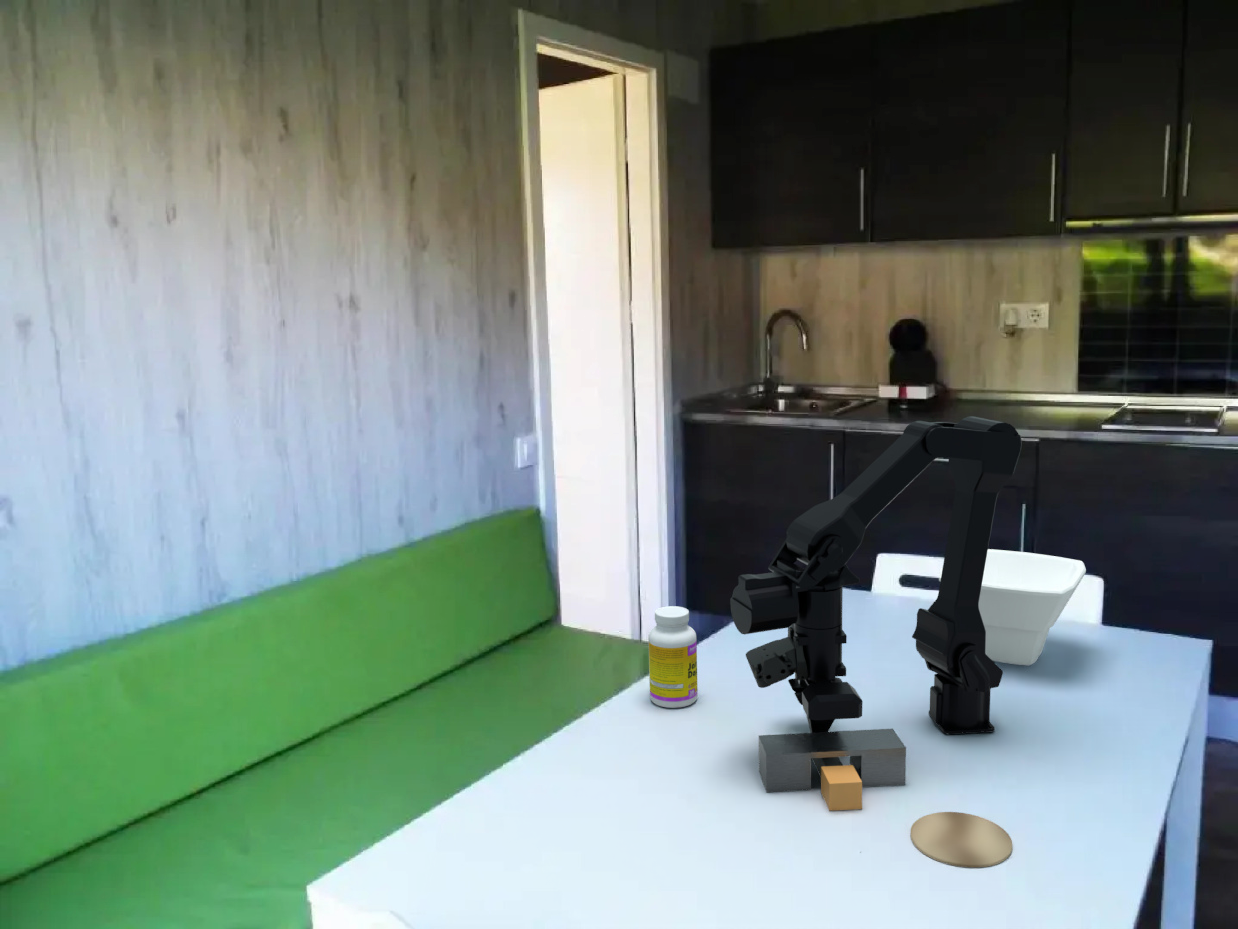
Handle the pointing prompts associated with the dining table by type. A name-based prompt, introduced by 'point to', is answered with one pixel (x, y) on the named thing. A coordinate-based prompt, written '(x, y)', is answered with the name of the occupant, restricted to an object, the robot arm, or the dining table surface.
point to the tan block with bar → (839, 784)
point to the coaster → (961, 839)
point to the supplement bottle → (672, 659)
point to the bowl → (1023, 601)
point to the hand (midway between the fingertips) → (817, 742)
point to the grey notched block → (869, 752)
